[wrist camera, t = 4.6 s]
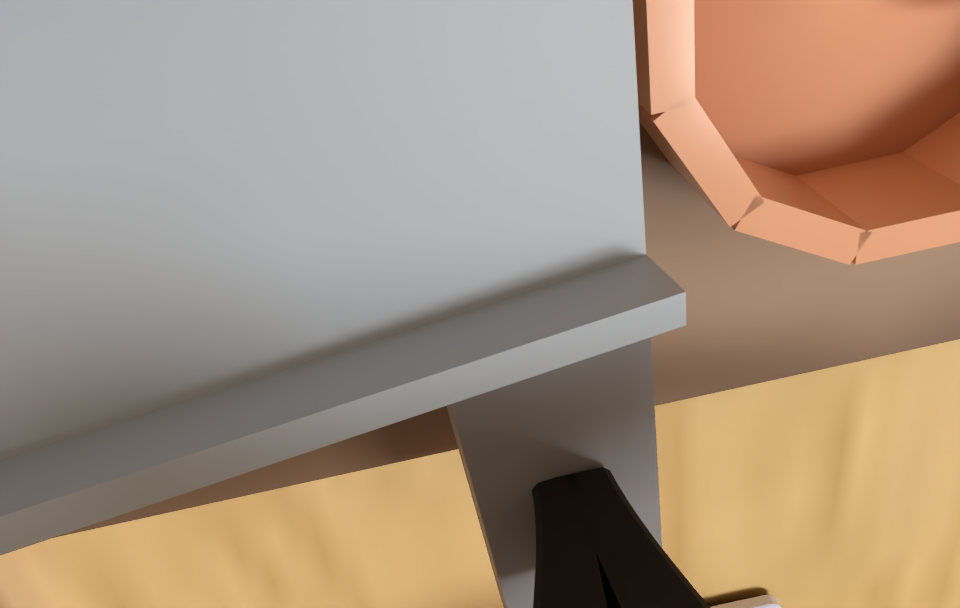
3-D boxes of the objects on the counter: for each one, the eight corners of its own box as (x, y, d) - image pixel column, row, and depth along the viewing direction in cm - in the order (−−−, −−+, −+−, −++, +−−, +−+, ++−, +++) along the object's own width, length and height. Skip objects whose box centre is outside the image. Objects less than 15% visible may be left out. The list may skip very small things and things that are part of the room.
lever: (606, 489, 15) (706, 660, 12) (-105, 748, 13) (-226, 1040, 10) (520, -242, 8) (712, -333, 5) (-1064, 87, 6) (-2680, 336, 3)
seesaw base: (1013, 296, 17) (1192, 421, 13) (-22, 523, 17) (-136, 711, 13) (1289, -600, 9) (1935, -923, 5) (-659, -166, 9) (-1390, -180, 5)
